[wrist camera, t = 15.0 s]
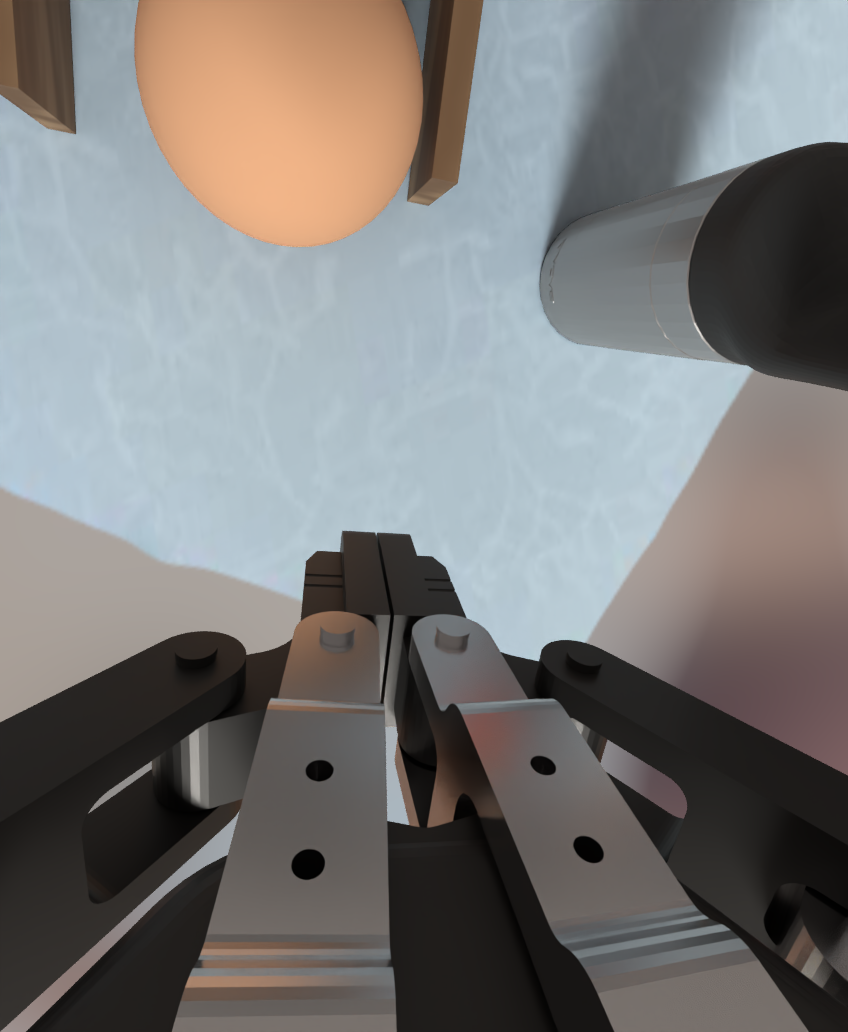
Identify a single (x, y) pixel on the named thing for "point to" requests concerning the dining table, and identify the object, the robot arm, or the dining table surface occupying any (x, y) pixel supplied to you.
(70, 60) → the pocket
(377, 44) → the ball
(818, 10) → the dining table surface
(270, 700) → the robot arm
